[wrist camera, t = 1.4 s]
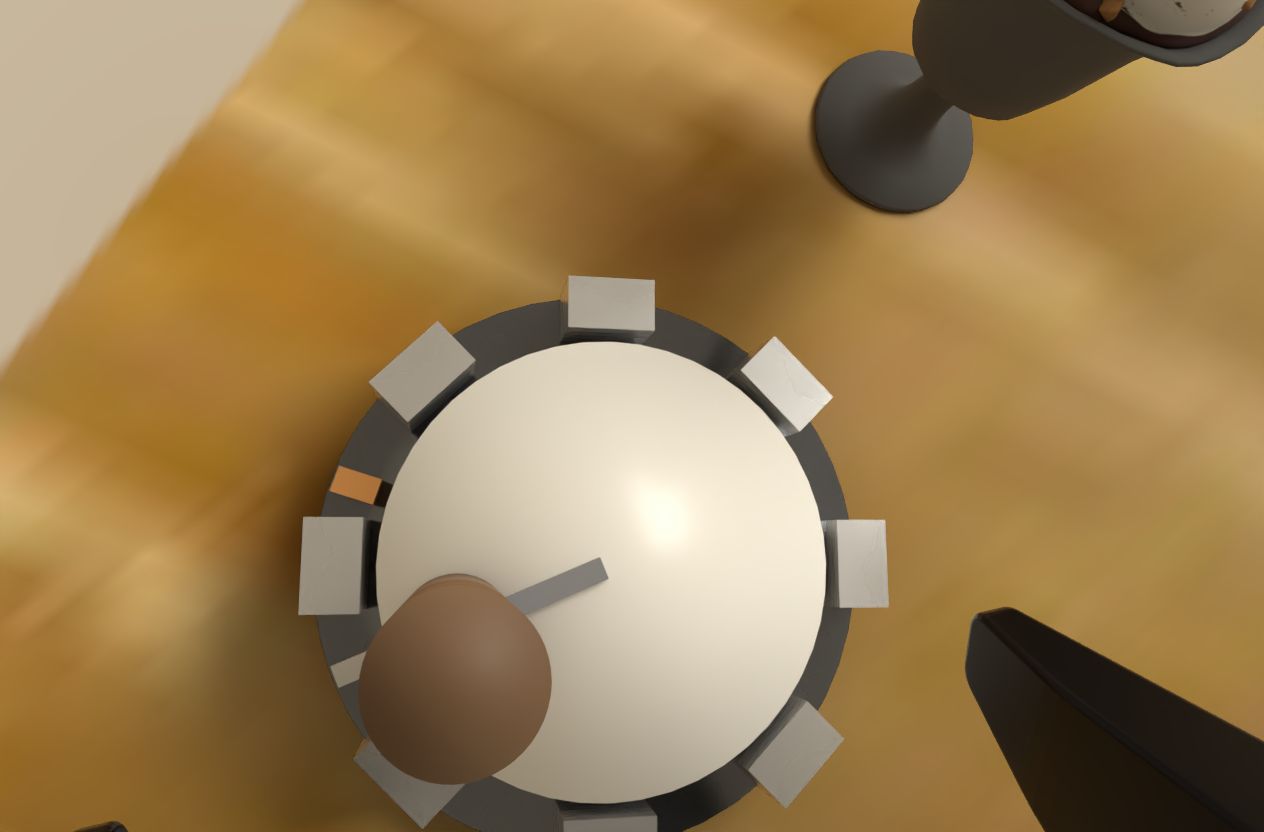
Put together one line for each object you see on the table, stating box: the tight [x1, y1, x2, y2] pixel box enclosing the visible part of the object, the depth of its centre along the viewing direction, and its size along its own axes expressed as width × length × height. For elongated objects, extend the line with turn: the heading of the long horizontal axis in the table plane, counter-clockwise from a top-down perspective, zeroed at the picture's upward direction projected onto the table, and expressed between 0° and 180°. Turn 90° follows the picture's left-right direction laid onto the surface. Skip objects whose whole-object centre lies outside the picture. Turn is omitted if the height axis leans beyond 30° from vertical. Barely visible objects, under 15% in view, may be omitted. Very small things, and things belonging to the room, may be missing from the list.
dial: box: [358, 342, 826, 803], centre depth 17 cm, size 10×10×10 cm
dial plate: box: [298, 275, 889, 832], centre depth 22 cm, size 13×13×3 cm
